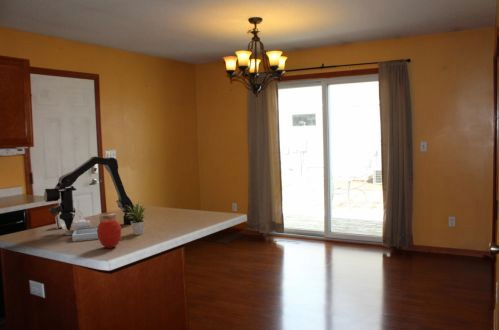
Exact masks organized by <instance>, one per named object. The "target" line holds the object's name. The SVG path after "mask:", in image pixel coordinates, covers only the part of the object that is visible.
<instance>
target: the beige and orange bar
mask: <svg viewBox="0 0 499 330" xmlns="http://www.w3.org/2000/svg"><path fill="white" fill-rule="evenodd" d="M90 227H91V220H89V219H88V220H86V221H75V222H72V224H71V227H70V230H67V228H66V225H65V229H64V232H65V231H72V230H81V229H90Z"/></svg>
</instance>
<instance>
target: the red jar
mask: <svg viewBox="0 0 499 330" xmlns="http://www.w3.org/2000/svg"><path fill="white" fill-rule="evenodd" d="M97 226H98V229H97V234H98V238H99V239H98V240H99V242H100V244H101V245H102V246H103V247H104V248H106V249H112V248H116V246H117V245H118V244H119V242H120V240H121V236H122V226H121V224H120V223H119V221H117V219H116V220H113V219H106V220H103V221H102V222H101V223H100V222H99V224H98V225H97Z"/></svg>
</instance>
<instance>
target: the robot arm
mask: <svg viewBox="0 0 499 330" xmlns="http://www.w3.org/2000/svg"><path fill="white" fill-rule="evenodd" d="M95 165H101V166H102V165H103V166H104V168H105V170H106V172H108V174H109V175H110V178H111V181H112V183H113V186H114V189H115V191H116V194H117V197H118V198H117V199H118V200H116V204H117V207H118V209H120V210H121V211H122V212H123V214H124V215H123V216H122V219H123V223H124V225H125V226H126V225H131V221H134V219H132V218H131V217H132V216H133V214H129V215H132V216H131V217H130V216H129V215H128V214H126V213H131V212H132V211H131V209H132V210H133V208H134V206H133V205H134V203H133V202H132V200H131V198H130V197H129V196H128V195H127V192H126V190H125V187H124V185H123V182H122V179H121V176H120V173H119V163H118V159H116V158H115V157H111V156H110V157H109V156H108V157H107V156H106V157H105V158H104V157H100V156H99V157H98V156H95V155H94V156H91V157H90V158H89V159H88V160H86V161H85V162H84V163H82V164H80V165H79V166H78V167H76V168H75V169H74V170H72V171H70V172H67V173H65V174H63V175H61V176H60V177H59V178H58V181H57V183H56V184H55V186H54V188H44V194H43V199H44V202H45V203H52V202H58V201H59V200H60V203H59V205H57V206H52V207H50V208H49V209H48V211H49V214H50V215H51V216H54V215H57V214H58V213H59V214H60V213H61V214H60V215H59V214H58V215H59V218H60V219H62V220H63V221H64V222H65V225H66V228H67V230H70V227H71V224H72V222H73V219H74V216H75V214H73V213H72V212H74V213H76V210H77V208H75V207H74V197H73V191H77V188H76V187H74V186H73V185H74V183H75V182H76V181H77V180H78V178H79V177H81V176H82V175H83V174H85V173H86V172H88V171H89V170H91V169H92V168H93V167H95ZM126 205H127V206H126ZM128 206H129V207H130V208H131V209H130V208H129V207H128ZM127 208H128V210H127ZM129 209H130V211H131V212H130V211H129ZM133 212H134V210H133ZM133 212H132V213H133ZM134 213H135V212H134ZM127 215H128V216H127ZM134 216H135V215H134ZM134 216H133V217H134ZM128 217H130V218H131V219H130V218H128ZM134 218H135V217H134Z"/></svg>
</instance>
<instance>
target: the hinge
mask: <svg viewBox="0 0 499 330" xmlns="http://www.w3.org/2000/svg"><path fill="white" fill-rule="evenodd" d="M72 213H73V214H75V216H74V219H73V222H75V221H87V220H86V218H85V217H84V215H83V212H82V211H81V210H79V209H76V213H74V212H72ZM60 214H61V213H60V212H59V214H56V216H55V225H56V230H57V229H62V230H65V222H64V221H63V220H62V219H60V218H59V215H60Z"/></svg>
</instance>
